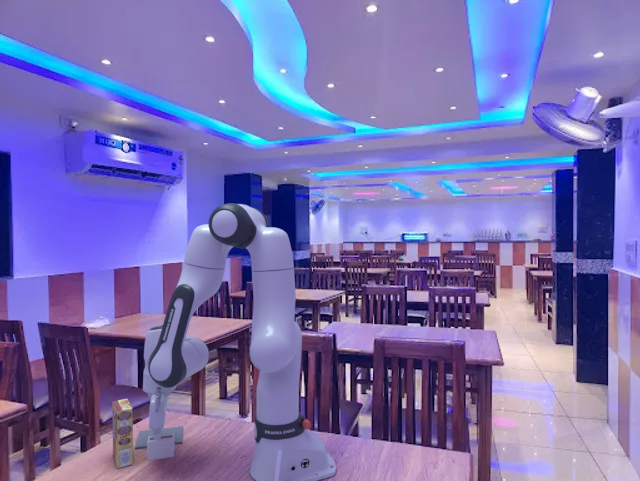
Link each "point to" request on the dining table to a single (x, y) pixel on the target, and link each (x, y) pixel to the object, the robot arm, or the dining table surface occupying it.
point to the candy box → (122, 433)
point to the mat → (144, 435)
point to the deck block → (161, 447)
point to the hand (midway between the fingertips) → (158, 431)
